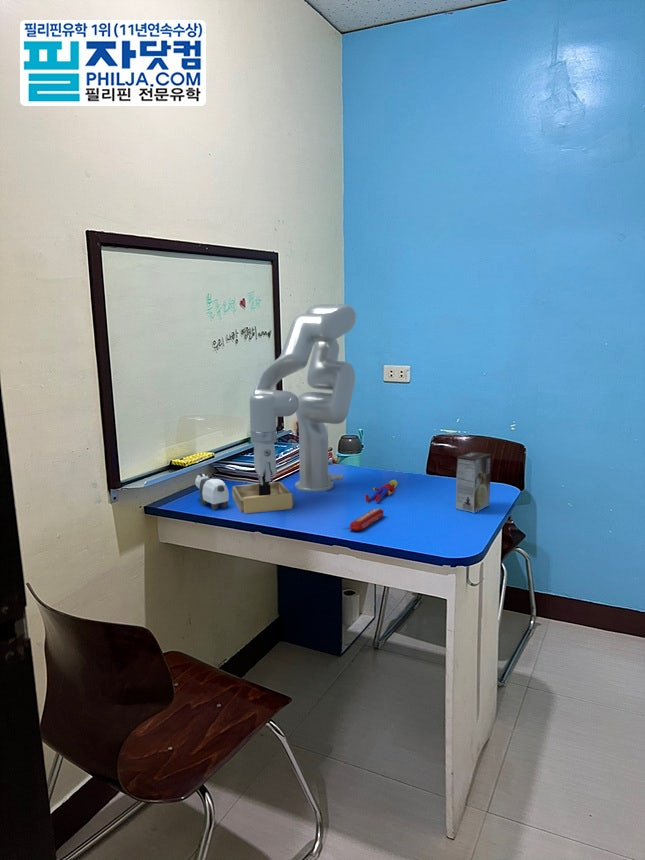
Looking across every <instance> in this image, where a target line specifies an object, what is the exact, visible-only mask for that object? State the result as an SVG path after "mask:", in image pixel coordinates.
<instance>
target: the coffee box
mask: <svg viewBox="0 0 645 860" xmlns="http://www.w3.org/2000/svg"><path fill="white" fill-rule="evenodd" d="M491 463H492V454H491V453H486V452H485V453H484V452H479V451H478V452H477V451H470V452H467V453H465V454H461V455H459V456H457V457H456V479H455V480H456V481H455V483H456V487H455V489H456V490H455V509H456V508H457V509H462V510H466V511H471V512H476V511H478V510H480V509H482V508H485V507H487V506H489V507H490V499H491V498H490V497H491V492H490V491H491V473H492V472H491V471H492V470H491V469H492V468H491V467H492V464H491ZM487 508H488V507H487ZM485 509H486V508H485ZM478 512H479V511H478ZM476 513H477V512H476Z"/></svg>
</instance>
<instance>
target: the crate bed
mask: <svg viewBox="0 0 645 860" xmlns="http://www.w3.org/2000/svg"><path fill="white" fill-rule="evenodd" d="M270 487H271V495H273V494H284V493H291V491H290V490H289V488H288V487H286V486H285V484H283V483H282V482H281V481H273V482H270ZM253 496H259V483H253V484H242V485H232V486H231V497H232V499H233V501H234V503H235V504H236V506H237V508H238V509H239V511H240V513H244V497H253ZM292 508H294V495H293V494H292Z"/></svg>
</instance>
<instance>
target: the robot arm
mask: <svg viewBox="0 0 645 860" xmlns="http://www.w3.org/2000/svg"><path fill="white" fill-rule="evenodd" d="M356 322H357V315H356V311H355V309H354V308H353V307H352V306H351V305H350V304H349V305H348V304H315V305H312V306H309V307H308V308H307V310H306V313H301V314H298V315H296V316H295V317H294V318H293V320H292V322H291V325H290V328H289V330H288V333H287V337H286V338H285V341H284V344H283V347H282V350H281V353H280V355H279V357H278V358H276V359H274V360H273V361H272V363H271V364H270V365H269V366H267V367H266V368H265V369H264V371H263V372H262V373H261V374H260V376H259V378H258V380H257V382H256V385H255V388H254V392H253V394H252V395H250V397H249V425H250V426H249V428H250V431H249V432H250V433H249V434H250V435H249V436H250V443H251V444H253V462H254V463H253V464H254V465H253V466H254V467H253V468H254V471H255V472H256V473H257V475H258V484H259V496H263V495H271V487H270V483H271V474H272V476H273V477H276V476H277V474H278V473H277V458H276V457H277V456H276V455H277V454H276V447H275V443H276V442H277V418H278V417H281V418H283V417H285V418H286V417H290V416H293V415H294V414H296V419H297V425H298V426H297V427H298V452H299V453H298V455H299V457H298V458H299V460H298V461H299V464H298V465H299V480H298V481H296V482H295V484H294V485H295V486H294V488H295V489H297V490H299V491H304V492H323V491H325V492H327V491H329V490H332V489H333V488H334V481H343V479H344V477H343V474H337V473H330V472H329V431H328V432H327V429H326V427H325V425H326V424H332V425H338V424H339V425H340V424H343V423H344V421H345V420H346V419H347V417H348V414H349V410H350V406H351V402H352V397H353V393H354V388H355V383H356V374H355V373H356V372H355V369H354V367H353V365H352V364H351V363H349V362H348V361H342V360H341V361H340V360H338V359H339V355H340V354H339V353H340V344H339V342H338V338H340V337H342V336H344V335H345V334H347V333H348V332H350V331H351V330H352V329H353V328H354V326H355V324H356ZM311 353H312V354H311ZM310 357H311V358H310ZM309 359H310V362H309ZM308 362H309V366H308V370H307V371H308V372H307V378H306V382H307V384H308V386H309V387H311V388H313V389H317V390H323V391H332V392H331V393H330V392H329V393H328V392H319V391H306V392H303V393H301V394H300V395H298V396H297V395H296V394H295V393H293V392H291V391H287V390H277V389H275V387H276V386H277V384H278V383H279V382H280V381H281V380H282V379H284V378H286V377H287V376H290V375H291V374H294V373H297V372H299V371H302V370H304V369H305V368H306V367H307V365H308Z"/></svg>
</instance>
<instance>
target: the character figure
mask: <svg viewBox="0 0 645 860" xmlns="http://www.w3.org/2000/svg"><path fill="white" fill-rule="evenodd" d="M394 487H396V488H397V487H398V481H397V480H396V479H392V480H390V481H389V482H388V483H385V484H383V485H382V486H381V487H379V488H378V487H373V488H372V489H373V491H375V492H374V494H373V495H372V496H371V497H370V496H369V494H365V496H364V497H365V498H364V499H365V502H366V503H367V502H368V504H369V503H371V502H373V501H374V502H375V503H377V502H379V501H380V500H381V499H382V498H383V497H384V496H385V495H393V494H394V493H395V491H396V488H394ZM393 492H394V493H393ZM392 493H393V494H392ZM373 499H374V500H373ZM370 501H371V502H370Z"/></svg>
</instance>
